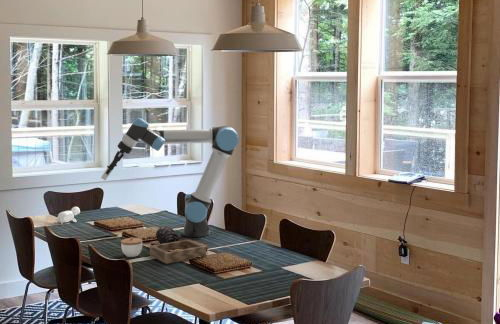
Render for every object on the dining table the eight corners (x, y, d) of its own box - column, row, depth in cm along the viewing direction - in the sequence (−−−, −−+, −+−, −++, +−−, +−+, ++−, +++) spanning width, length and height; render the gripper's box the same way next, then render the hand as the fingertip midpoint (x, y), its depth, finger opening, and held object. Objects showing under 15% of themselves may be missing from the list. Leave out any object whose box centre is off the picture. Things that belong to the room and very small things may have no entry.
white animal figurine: (65, 229, 439) (85, 216, 448) (60, 217, 436) (80, 204, 445) (58, 227, 445) (78, 214, 454) (53, 215, 442) (73, 203, 451)
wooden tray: (188, 248, 377) (188, 239, 376) (206, 256, 362) (205, 246, 361) (150, 255, 365) (149, 245, 364) (166, 263, 350) (166, 253, 349)
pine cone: (169, 250, 374) (168, 231, 372) (152, 244, 388) (152, 225, 387) (186, 247, 380) (186, 228, 378) (169, 241, 394) (169, 223, 393)
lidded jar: (133, 251, 373) (132, 233, 372) (147, 254, 367) (146, 236, 365) (116, 256, 365) (116, 237, 364) (131, 259, 358) (130, 240, 357)
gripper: (123, 137, 397) (101, 169, 398) (118, 142, 372) (95, 176, 374) (134, 145, 398) (113, 177, 399) (131, 151, 373) (108, 184, 375)
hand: (104, 177), depth 387 cm, fingers open, 13 cm apart
